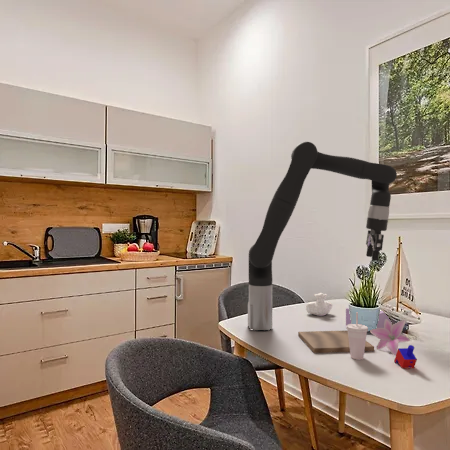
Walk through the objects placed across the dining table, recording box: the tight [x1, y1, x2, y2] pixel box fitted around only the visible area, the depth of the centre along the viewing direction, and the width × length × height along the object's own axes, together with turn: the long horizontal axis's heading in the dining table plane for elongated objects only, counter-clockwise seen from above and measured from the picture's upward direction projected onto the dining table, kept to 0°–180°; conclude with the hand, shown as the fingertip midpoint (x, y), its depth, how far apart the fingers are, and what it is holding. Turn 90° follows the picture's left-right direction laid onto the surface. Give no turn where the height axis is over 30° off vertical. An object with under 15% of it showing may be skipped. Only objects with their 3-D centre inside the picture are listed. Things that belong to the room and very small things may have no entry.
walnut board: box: [297, 329, 375, 354], centre depth 132 cm, size 20×18×2 cm
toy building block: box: [393, 344, 418, 369], centre depth 111 cm, size 4×4×8 cm
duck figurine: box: [305, 292, 334, 317], centre depth 170 cm, size 12×8×11 cm
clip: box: [345, 307, 392, 328], centre depth 152 cm, size 20×12×7 cm, turn 96°
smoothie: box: [345, 312, 369, 361], centre depth 119 cm, size 6×6×14 cm
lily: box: [370, 319, 411, 357], centre depth 126 cm, size 12×12×10 cm
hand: (371, 258), depth 151 cm, fingers open, 8 cm apart
